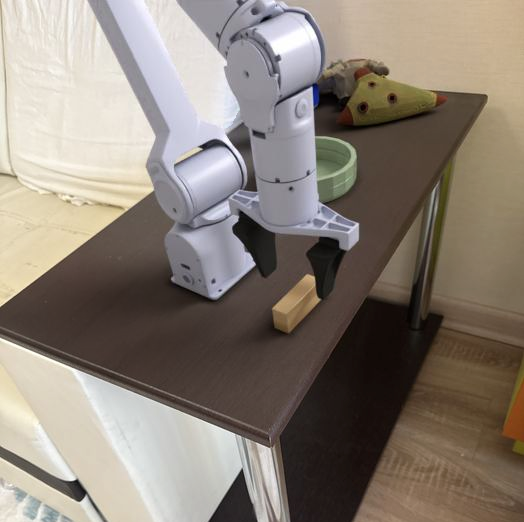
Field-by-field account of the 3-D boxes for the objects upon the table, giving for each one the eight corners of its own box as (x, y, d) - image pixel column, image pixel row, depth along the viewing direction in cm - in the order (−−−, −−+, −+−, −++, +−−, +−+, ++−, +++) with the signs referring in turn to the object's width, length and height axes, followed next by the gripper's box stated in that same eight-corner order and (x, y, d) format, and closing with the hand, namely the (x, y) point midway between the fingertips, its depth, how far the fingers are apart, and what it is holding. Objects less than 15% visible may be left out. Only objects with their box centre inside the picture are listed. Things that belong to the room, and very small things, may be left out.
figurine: (327, 130, 98) (321, 122, 111) (399, 89, 94) (383, 85, 108) (304, 81, 94) (300, 78, 107) (378, 35, 90) (365, 39, 104)
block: (288, 334, 59) (286, 314, 57) (274, 327, 60) (271, 308, 58) (322, 298, 62) (321, 278, 60) (308, 293, 63) (307, 273, 61)
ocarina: (443, 113, 96) (430, 59, 95) (455, 99, 90) (441, 42, 90) (337, 138, 95) (324, 84, 95) (342, 126, 90) (328, 69, 89)
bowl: (322, 216, 75) (321, 190, 72) (244, 193, 82) (240, 169, 79) (373, 170, 82) (374, 145, 79) (297, 153, 89) (295, 130, 86)
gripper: (376, 163, 47) (372, 282, 56) (250, 136, 54) (266, 246, 64) (334, 201, 43) (338, 321, 53) (205, 167, 50) (229, 278, 60)
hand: (296, 283), depth 58 cm, fingers open, 7 cm apart
